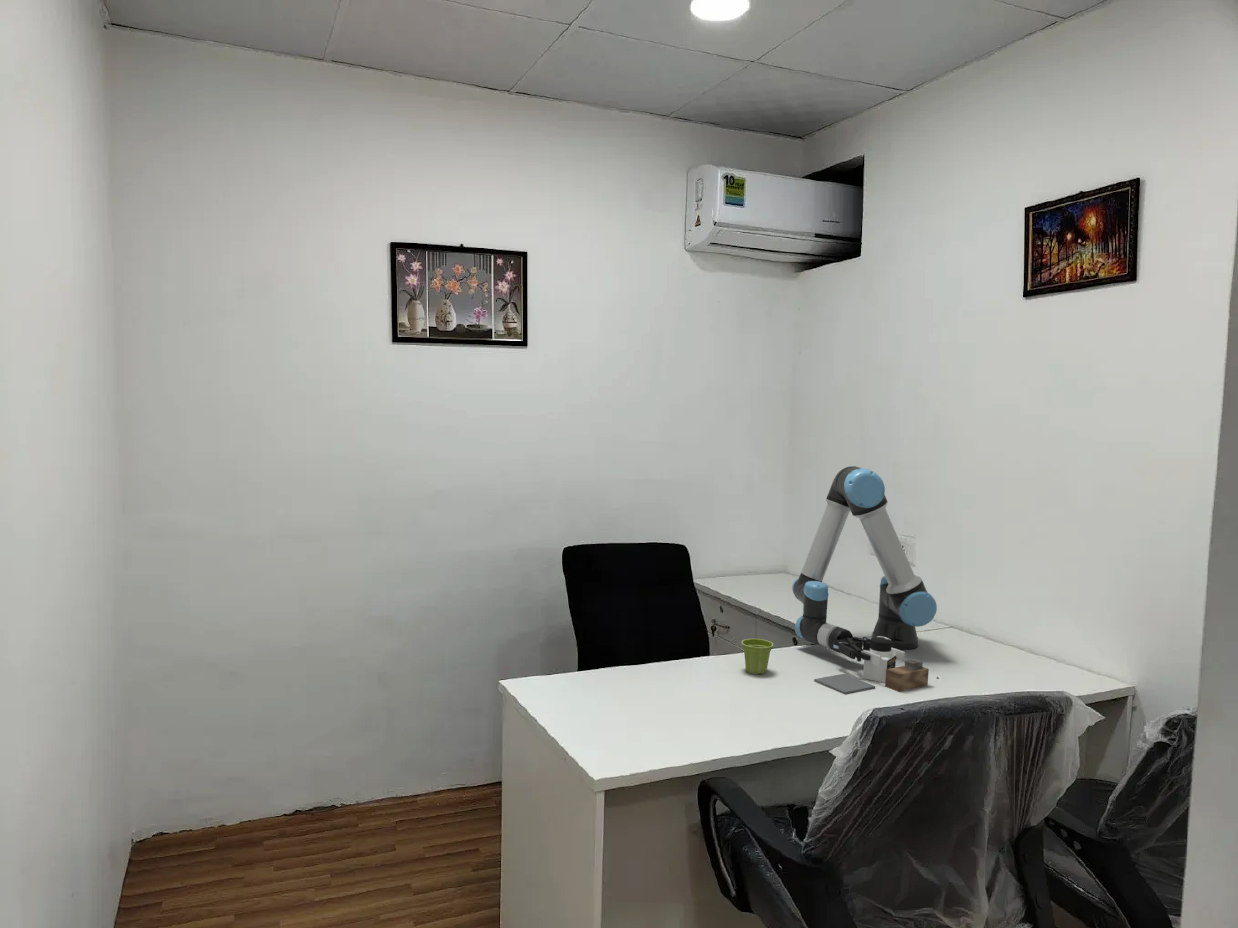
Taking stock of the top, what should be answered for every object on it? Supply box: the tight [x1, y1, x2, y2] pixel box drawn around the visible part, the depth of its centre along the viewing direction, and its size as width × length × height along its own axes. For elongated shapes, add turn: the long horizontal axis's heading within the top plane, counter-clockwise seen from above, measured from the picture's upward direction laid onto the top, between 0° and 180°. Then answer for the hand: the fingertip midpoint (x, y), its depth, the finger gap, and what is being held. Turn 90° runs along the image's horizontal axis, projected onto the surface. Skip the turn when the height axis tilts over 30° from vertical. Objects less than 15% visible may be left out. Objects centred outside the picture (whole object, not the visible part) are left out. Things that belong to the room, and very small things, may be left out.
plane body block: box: [884, 658, 930, 693], centre depth 241 cm, size 12×5×7 cm, turn 120°
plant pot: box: [741, 638, 774, 675], centre depth 249 cm, size 9×9×9 cm
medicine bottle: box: [862, 636, 897, 684], centre depth 247 cm, size 7×7×12 cm
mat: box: [813, 673, 876, 695], centre depth 241 cm, size 12×12×1 cm
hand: (892, 658), depth 243 cm, fingers closed on medicine bottle, 9 cm apart
